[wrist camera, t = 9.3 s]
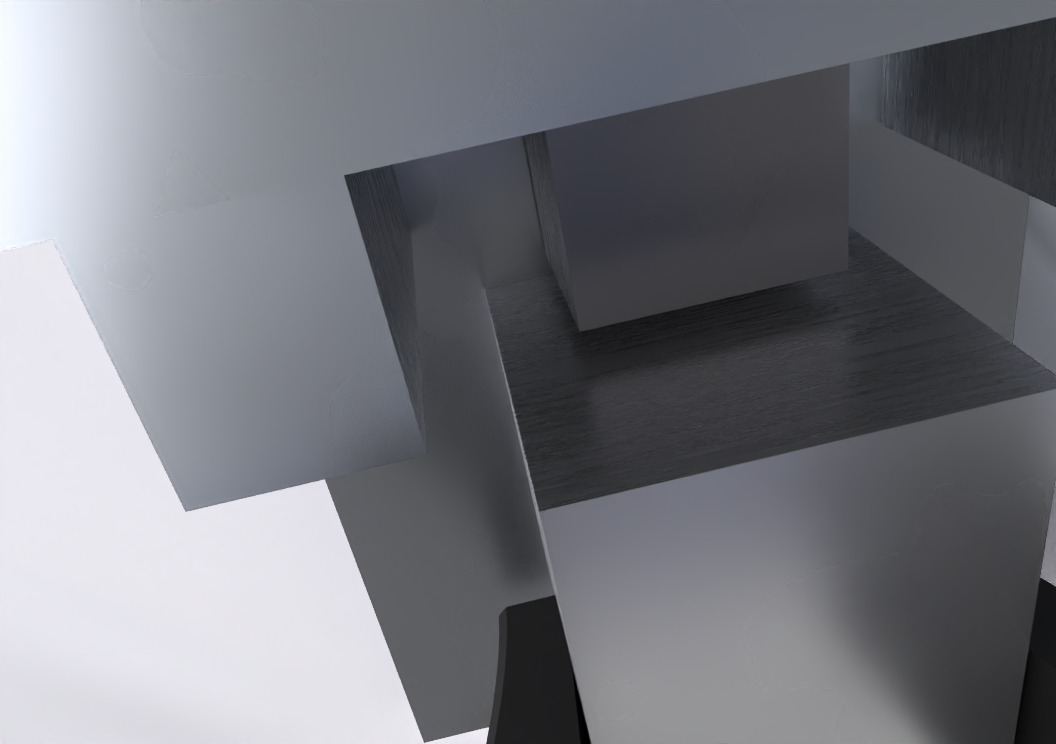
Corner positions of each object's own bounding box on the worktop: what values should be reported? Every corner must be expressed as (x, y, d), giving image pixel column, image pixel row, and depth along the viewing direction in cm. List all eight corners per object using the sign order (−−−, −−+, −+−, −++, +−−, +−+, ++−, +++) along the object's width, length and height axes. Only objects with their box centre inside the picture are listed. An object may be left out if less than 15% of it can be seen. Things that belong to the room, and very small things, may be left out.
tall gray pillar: (485, 290, 9) (539, 511, 6) (830, 211, 9) (1069, 386, 6) (601, 800, 14) (668, 1087, 10) (831, 742, 14) (972, 1008, 11)
